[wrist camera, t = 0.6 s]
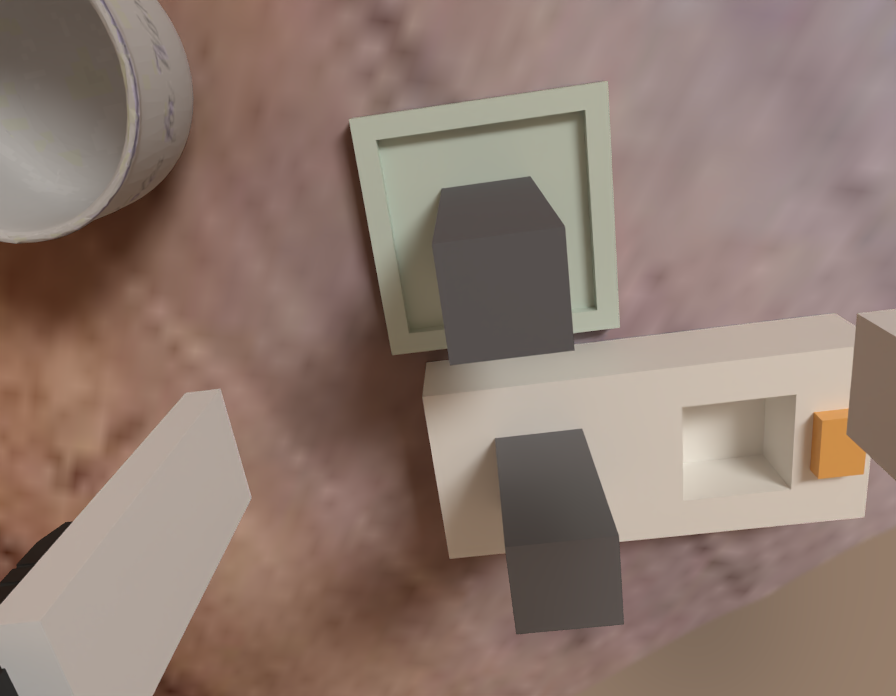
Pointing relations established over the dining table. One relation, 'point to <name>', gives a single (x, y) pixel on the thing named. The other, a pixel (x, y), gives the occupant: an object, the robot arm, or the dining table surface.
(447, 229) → the plug
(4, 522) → the dining table surface
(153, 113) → the teacup
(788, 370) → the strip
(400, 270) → the tray
